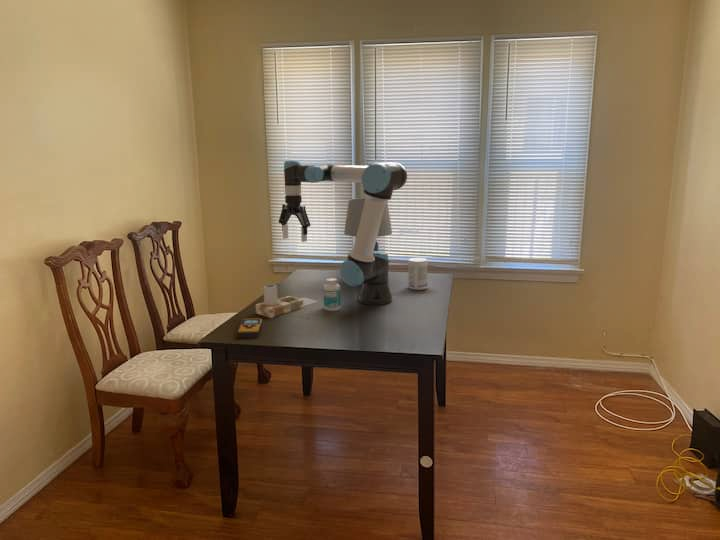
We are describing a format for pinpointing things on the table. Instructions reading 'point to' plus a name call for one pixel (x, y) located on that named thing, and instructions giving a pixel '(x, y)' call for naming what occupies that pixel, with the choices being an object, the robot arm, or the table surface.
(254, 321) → the electronic device
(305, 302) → the mat
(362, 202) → the lamp
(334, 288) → the pill bottle
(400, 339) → the table surface
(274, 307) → the socket block
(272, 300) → the plug
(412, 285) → the supplement tub
